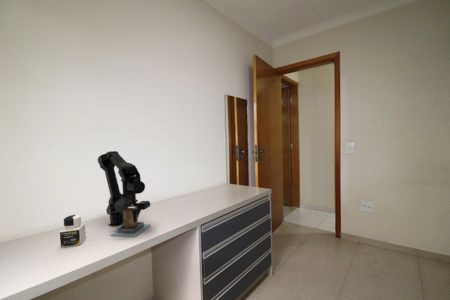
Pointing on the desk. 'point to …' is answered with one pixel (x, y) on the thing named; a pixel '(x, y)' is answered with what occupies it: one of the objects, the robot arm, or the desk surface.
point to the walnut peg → (129, 218)
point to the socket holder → (131, 230)
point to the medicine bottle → (72, 231)
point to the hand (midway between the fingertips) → (130, 222)
